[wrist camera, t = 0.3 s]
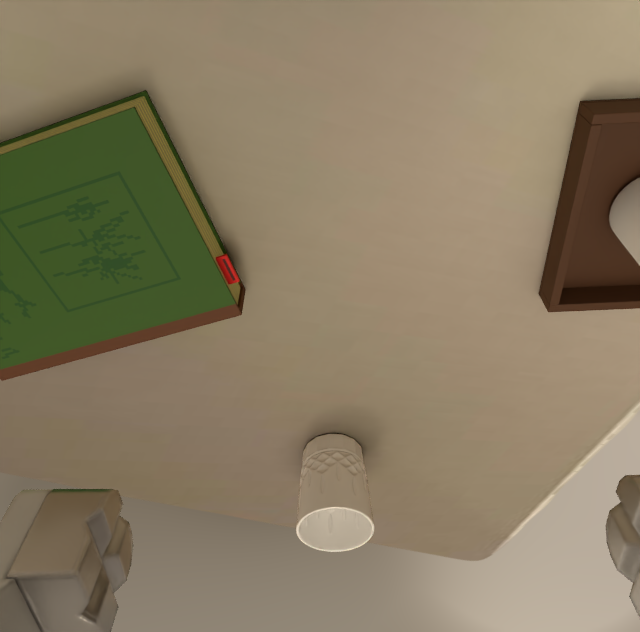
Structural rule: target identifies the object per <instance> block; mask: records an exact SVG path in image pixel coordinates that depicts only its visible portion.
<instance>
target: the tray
mask: <svg viewBox="0 0 640 632" xmlns="http://www.w3.org/2000/svg"><path fill="white" fill-rule="evenodd" d="M639 177H640V98H636V99H616V100H596V101H580V104H579V109H578V114H577V118H576V123H575V128H574V132H573V137H572V142H571V146H570V151H569V156H568V160H567V165H566V170H565V174H564V179H563V184H562V188H561V193H560V198H559V202H558V207H557V212H556V216H555V221H554V225H553V230H552V235H551V239H550V244H549V249H548V253H547V258H546V263H545V267H544V272H543V277H542V281H541V286H540V291H539V295H540V297H541V299H542V301H543V303H544V305H545V307H546V309H547V311H548V312H562V311H586V310H609V309H633V308H640V265H639V264H638V263H637V262H636V260H635V259H634V258H633V256H632V255H631V254H630V253H629V251H628V250H627V249H626V248H625V246H624V245H623V244H622V242H621V241H620V240H619V239H618V237H617V236H616V235H615V233H614V232H613V230H612V228H611V226H610V222H609V214H610V209H611V206H612V204H613V202H614V200H615V198H616V197H617V196H618V194H619V193H620V192H621V191H622V190H623V189H624V188H625V187H626V186H627V185H628V184H629V183H631V182H632V181H634V180H636V179H637V178H639Z"/></svg>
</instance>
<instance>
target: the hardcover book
mask: <svg viewBox="0 0 640 632" xmlns="http://www.w3.org/2000/svg"><path fill="white" fill-rule="evenodd" d="M244 296H245V288H244V286H243V284H242V282H241V280H240V278H239V276H238V274H237V272H236V270H235V268H234V266H233V264H232V262H231V260H230V258H229V256H228V254H227V252H226V250H225V248H224V246H223V244H222V242H221V240H220V238H219V236H218V234H217V232H216V230H215V228H214V226H213V224H212V222H211V220H210V218H209V216H208V214H207V212H206V210H205V208H204V206H203V204H202V202H201V200H200V198H199V196H198V194H197V192H196V190H195V188H194V186H193V184H192V182H191V180H190V177H189V175H188V173H187V171H186V169H185V167H184V165H183V163H182V161H181V159H180V157H179V155H178V153H177V151H176V149H175V147H174V145H173V143H172V141H171V139H170V137H169V135H168V133H167V131H166V129H165V127H164V125H163V123H162V121H161V119H160V117H159V115H158V113H157V111H156V109H155V107H154V105H153V103H152V101H151V99H150V97H149V95H148V93H147V91H143V92H140V93H138V94H135V95H132V96H129V97H126V98H124V99H121V100H118V101H115V102H113V103H110V104H107V105H104V106H102V107H99V108H96V109H93V110H90V111H88V112H85V113H82V114H79V115H77V116H74V117H71V118H68V119H66V120H63V121H60V122H57V123H54V124H52V125H49V126H46V127H43V128H41V129H38V130H35V131H32V132H30V133H27V134H24V135H21V136H18V137H16V138H13V139H10V140H7V141H5V142H2V143H0V379H1V380H2V381H3V380H6V379H10V378H14V377H17V376H21V375H25V374H28V373H32V372H36V371H39V370H43V369H46V368H50V367H54V366H57V365H61V364H65V363H68V362H72V361H76V360H79V359H83V358H86V357H90V356H94V355H97V354H101V353H105V352H108V351H112V350H116V349H119V348H123V347H126V346H130V345H134V344H137V343H141V342H145V341H148V340H152V339H156V338H159V337H163V336H166V335H170V334H174V333H177V332H181V331H185V330H188V329H192V328H196V327H199V326H203V325H207V324H210V323H214V322H217V321H221V320H225V319H228V318H232V317H236V316H239V315H242V309H243V302H244Z"/></svg>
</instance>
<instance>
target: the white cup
mask: <svg viewBox="0 0 640 632" xmlns="http://www.w3.org/2000/svg"><path fill="white" fill-rule="evenodd" d="M296 532H297V535H298V537H299V539H300V540H301V541H302V542H303V543H305V544H306V545H308V546H309V547H312V548H314V549H318V550H321V551H329V552H340V551H347V550H351V549H355V548H357V547H359V546H361V545H363V544H365V543H366V542H367V541H368V540H369V539H370V538H371V537H372V535H373V533H374V522H373V515H372V508H371V501H370V493H369V487H368V480H367V475H366V469H365V467H364V463H363V456H362V449H361V446H360V445H359V444H358V443H357V442H356V441H355V440H354V439H353V438H350V437H348V436H345V435H342V434H326V435H322V436H318V437H316V438H315V439H313V440H312V441H310V442H309V443H308V444H307V445H306V448H305V450H304V452H303V463H302V471H301V478H300V488H299V500H298V514H297V527H296Z"/></svg>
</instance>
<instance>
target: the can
mask: <svg viewBox="0 0 640 632" xmlns="http://www.w3.org/2000/svg"><path fill="white" fill-rule="evenodd" d="M609 222H610V226H611V228H612V230H613V232H614V233H615V235H616V236H617V237H618V239H619V240H620V241H621V242H622V244H623V245H624V246H625V248H626V249H627V250H628V251H629V253H630V254H631V255H632V256H633V258H634V259H635V260H636V262H637V263H638V264H639V265H640V177H639V178H637V179H636V180H634V181H632V182H631V183H629V184H628V185H627V186H626V187H625V188H624V189H623V190H622V191H621V192H620V193H619V194H618V196H617V197H616V198H615V200H614V202H613V204H612V206H611V209H610V214H609Z"/></svg>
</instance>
